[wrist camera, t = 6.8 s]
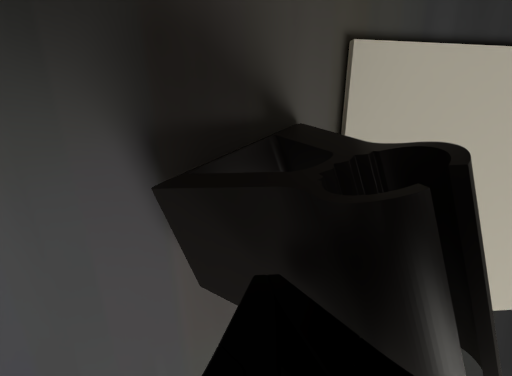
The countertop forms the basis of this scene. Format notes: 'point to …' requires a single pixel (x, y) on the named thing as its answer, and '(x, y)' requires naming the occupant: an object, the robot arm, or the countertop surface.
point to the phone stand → (349, 238)
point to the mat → (444, 122)
